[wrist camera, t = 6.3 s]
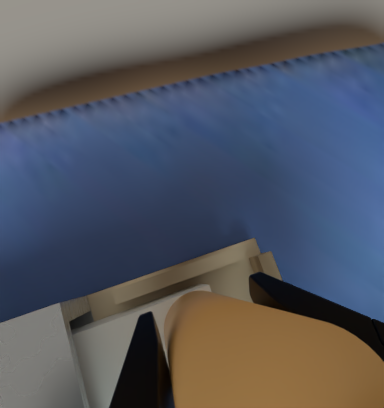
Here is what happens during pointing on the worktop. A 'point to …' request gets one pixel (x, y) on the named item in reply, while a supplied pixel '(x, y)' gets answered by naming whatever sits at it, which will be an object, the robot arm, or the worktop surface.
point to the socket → (43, 357)
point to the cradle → (190, 279)
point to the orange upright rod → (236, 355)
